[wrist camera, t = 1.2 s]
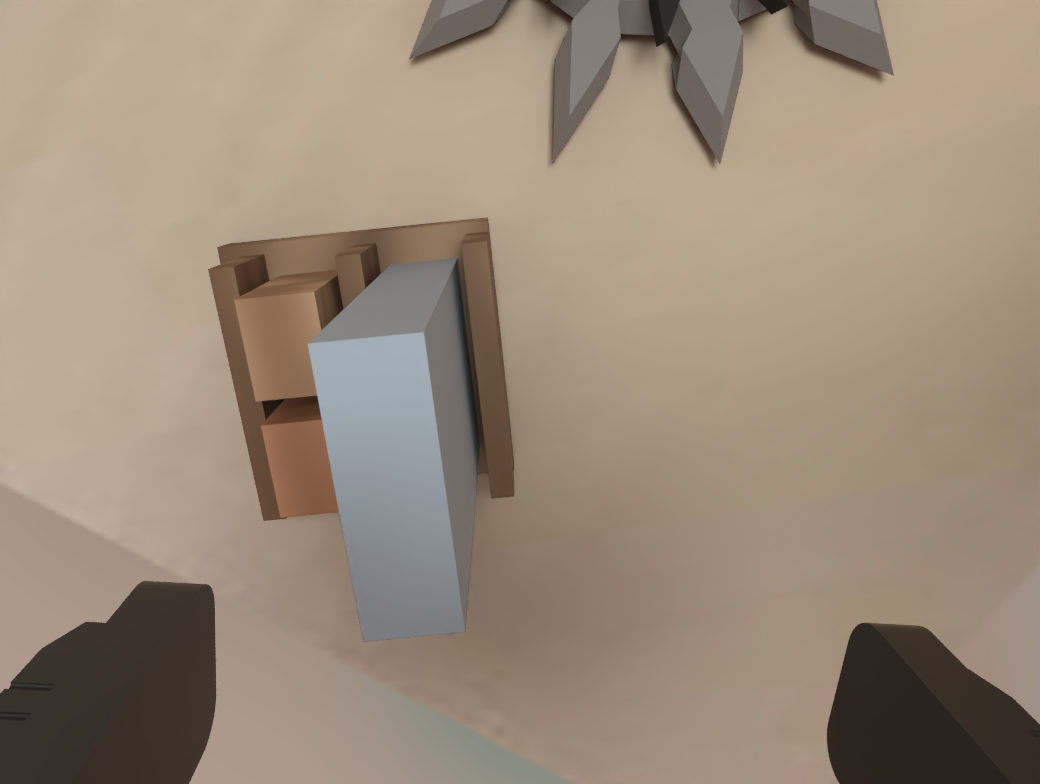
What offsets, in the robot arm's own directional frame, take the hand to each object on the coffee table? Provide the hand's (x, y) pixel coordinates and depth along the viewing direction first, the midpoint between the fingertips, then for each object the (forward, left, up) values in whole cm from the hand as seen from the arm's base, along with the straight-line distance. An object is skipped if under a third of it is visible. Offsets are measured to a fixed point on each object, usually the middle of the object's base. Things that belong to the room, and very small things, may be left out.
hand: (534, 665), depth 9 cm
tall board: (+4, +2, -26) cm, 26 cm away
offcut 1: (+9, 0, -26) cm, 27 cm away
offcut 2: (+9, +5, -26) cm, 28 cm away
